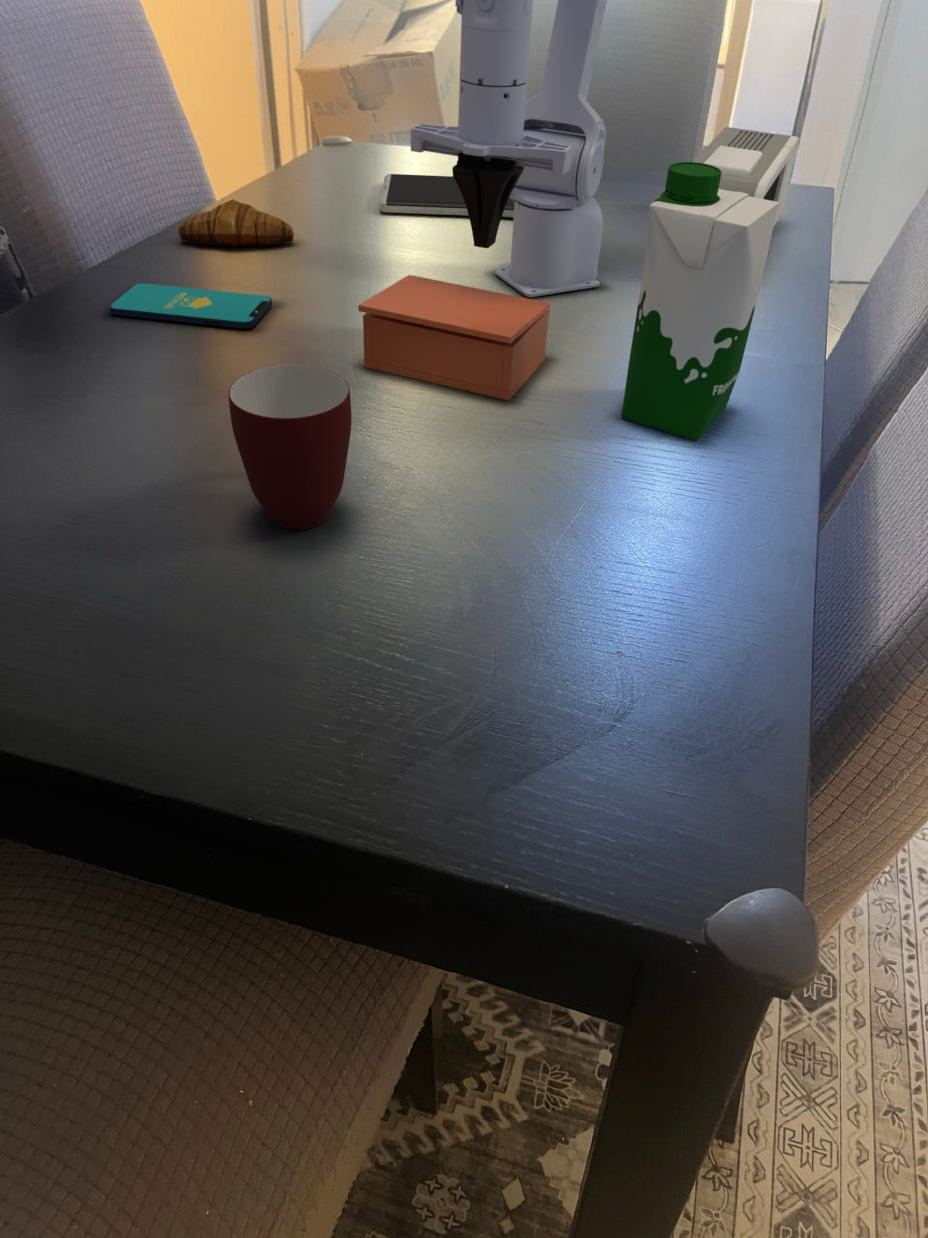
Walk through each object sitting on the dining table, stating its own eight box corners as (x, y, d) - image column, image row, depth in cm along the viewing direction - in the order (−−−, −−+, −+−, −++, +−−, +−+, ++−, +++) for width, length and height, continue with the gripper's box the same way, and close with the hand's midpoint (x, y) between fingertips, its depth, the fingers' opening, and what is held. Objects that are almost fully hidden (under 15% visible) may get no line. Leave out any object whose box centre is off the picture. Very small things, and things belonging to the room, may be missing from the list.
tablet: (585, 223, 124) (587, 209, 123) (378, 215, 124) (378, 201, 123) (575, 192, 135) (577, 179, 134) (384, 185, 134) (384, 171, 133)
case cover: (510, 343, 81) (510, 336, 81) (358, 311, 85) (358, 304, 85) (549, 308, 89) (550, 302, 88) (408, 280, 93) (408, 274, 92)
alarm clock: (741, 290, 108) (766, 179, 101) (661, 275, 111) (680, 166, 103) (779, 223, 128) (802, 126, 120) (710, 211, 130) (729, 116, 123)
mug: (251, 469, 74) (237, 348, 68) (355, 468, 75) (350, 348, 69) (238, 548, 66) (221, 419, 60) (355, 546, 67) (349, 418, 61)
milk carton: (646, 382, 89) (687, 151, 76) (739, 410, 86) (798, 172, 73) (606, 419, 83) (643, 175, 70) (704, 449, 80) (761, 199, 67)
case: (508, 400, 85) (512, 347, 82) (364, 367, 89) (362, 315, 86) (544, 359, 92) (549, 309, 89) (408, 330, 96) (408, 280, 93)
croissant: (296, 234, 117) (293, 191, 114) (292, 253, 112) (289, 209, 108) (184, 232, 116) (178, 189, 113) (175, 251, 111) (168, 206, 107)
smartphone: (137, 280, 101) (273, 294, 99) (138, 288, 101) (274, 302, 100) (106, 307, 95) (250, 322, 94) (108, 315, 96) (251, 330, 94)
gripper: (394, 77, 79) (396, 243, 88) (559, 99, 75) (543, 271, 84) (430, 63, 84) (428, 222, 93) (586, 83, 80) (568, 247, 89)
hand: (484, 244), depth 89 cm, fingers closed
